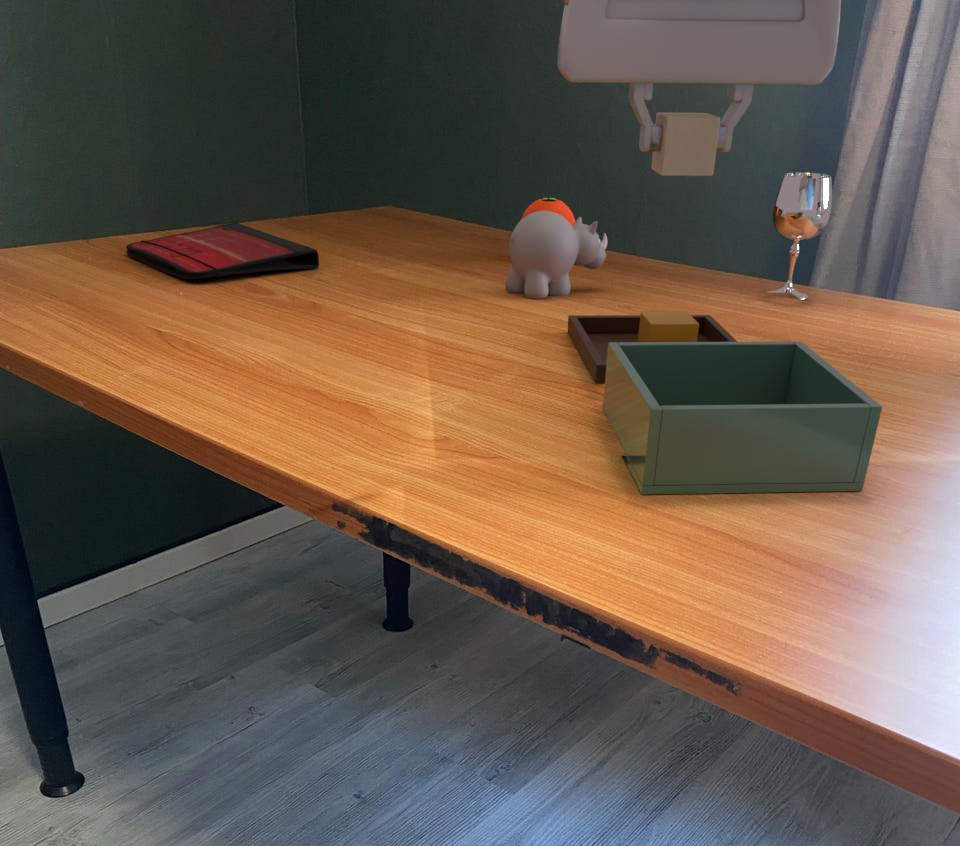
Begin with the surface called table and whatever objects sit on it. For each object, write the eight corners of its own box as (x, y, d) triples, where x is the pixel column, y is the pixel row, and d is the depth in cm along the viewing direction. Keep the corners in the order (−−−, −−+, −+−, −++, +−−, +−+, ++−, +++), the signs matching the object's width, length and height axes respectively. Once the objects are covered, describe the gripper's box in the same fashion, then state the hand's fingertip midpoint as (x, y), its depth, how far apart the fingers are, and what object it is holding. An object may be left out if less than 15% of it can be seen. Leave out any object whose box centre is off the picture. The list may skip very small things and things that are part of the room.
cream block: (700, 169, 79) (707, 112, 77) (713, 176, 76) (720, 117, 74) (651, 168, 79) (656, 112, 77) (661, 175, 76) (667, 116, 74)
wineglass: (781, 286, 112) (800, 170, 106) (824, 296, 108) (848, 176, 102) (749, 294, 109) (767, 174, 102) (793, 304, 105) (815, 181, 99)
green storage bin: (787, 414, 76) (801, 341, 73) (862, 491, 64) (882, 406, 61) (601, 416, 75) (607, 342, 72) (641, 494, 63) (651, 409, 60)
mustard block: (681, 358, 86) (687, 311, 84) (693, 372, 83) (699, 323, 80) (636, 358, 86) (640, 311, 84) (645, 372, 82) (650, 323, 80)
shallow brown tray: (707, 337, 94) (710, 314, 93) (757, 389, 81) (761, 363, 80) (567, 338, 93) (568, 315, 92) (594, 390, 80) (596, 364, 79)
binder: (237, 220, 129) (319, 247, 115) (240, 239, 131) (321, 268, 117) (118, 238, 121) (190, 270, 107) (122, 258, 123) (194, 292, 109)
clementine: (518, 250, 127) (520, 190, 123) (572, 251, 127) (576, 191, 123) (518, 263, 121) (520, 200, 117) (575, 265, 120) (579, 201, 117)
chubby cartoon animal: (623, 295, 108) (631, 211, 103) (529, 307, 103) (533, 219, 98) (586, 281, 113) (591, 201, 108) (494, 292, 108) (496, 208, 103)
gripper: (566, -75, 66) (556, 155, 73) (866, -69, 67) (826, 156, 75) (554, -68, 71) (546, 145, 79) (832, -63, 73) (798, 147, 80)
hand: (684, 151), depth 77 cm, fingers closed on cream block, 4 cm apart
